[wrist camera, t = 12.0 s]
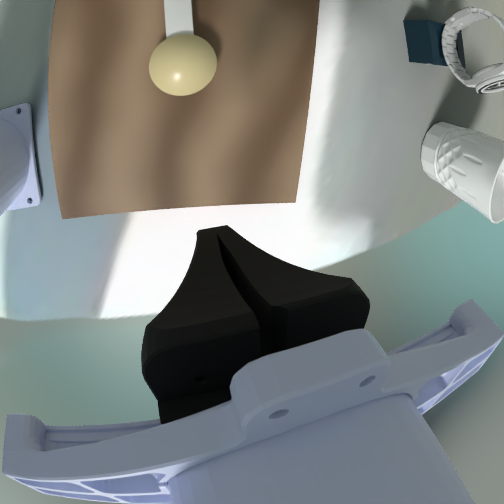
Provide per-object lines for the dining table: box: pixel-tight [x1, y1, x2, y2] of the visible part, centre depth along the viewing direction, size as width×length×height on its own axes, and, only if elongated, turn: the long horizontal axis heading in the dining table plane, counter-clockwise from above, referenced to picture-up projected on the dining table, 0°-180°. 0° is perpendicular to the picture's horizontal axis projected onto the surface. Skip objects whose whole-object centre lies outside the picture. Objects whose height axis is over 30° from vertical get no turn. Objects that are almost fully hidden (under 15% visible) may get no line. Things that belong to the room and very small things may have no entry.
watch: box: [403, 7, 504, 94], centre depth 14 cm, size 6×8×11 cm
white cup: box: [421, 122, 504, 223], centre depth 22 cm, size 8×8×10 cm
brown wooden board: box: [48, 0, 320, 219], centre depth 16 cm, size 18×20×2 cm
